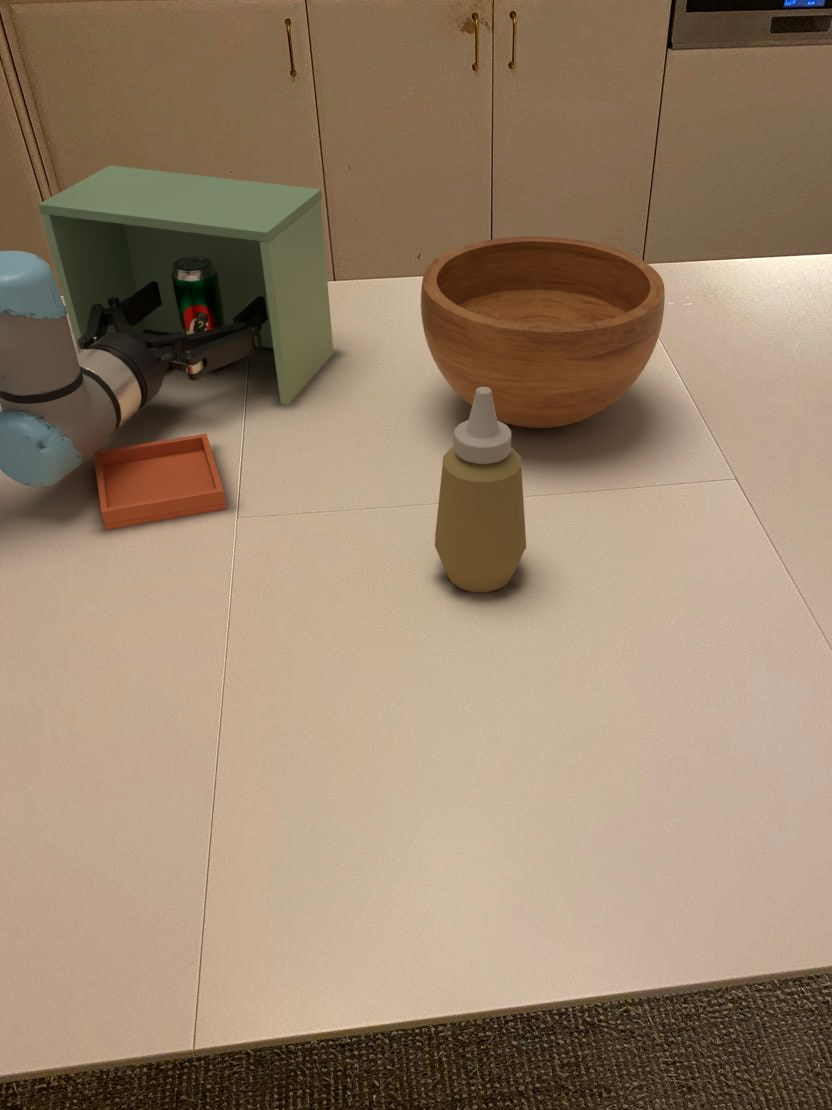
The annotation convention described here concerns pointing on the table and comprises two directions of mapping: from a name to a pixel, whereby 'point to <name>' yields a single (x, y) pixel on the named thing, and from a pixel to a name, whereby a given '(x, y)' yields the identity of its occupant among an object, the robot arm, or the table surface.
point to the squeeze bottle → (481, 502)
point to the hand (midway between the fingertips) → (209, 300)
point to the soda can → (197, 295)
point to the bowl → (541, 325)
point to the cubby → (198, 254)
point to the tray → (157, 481)
